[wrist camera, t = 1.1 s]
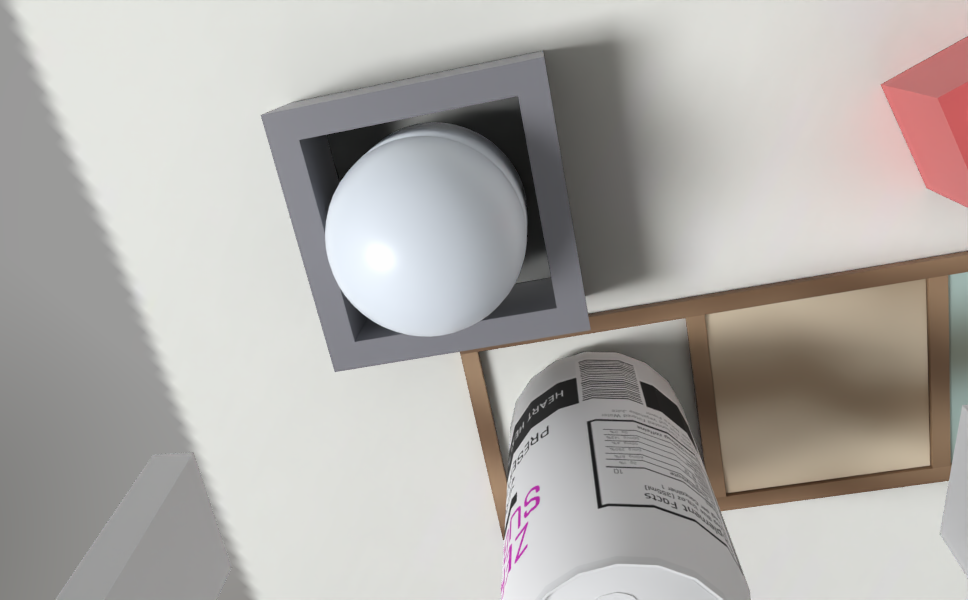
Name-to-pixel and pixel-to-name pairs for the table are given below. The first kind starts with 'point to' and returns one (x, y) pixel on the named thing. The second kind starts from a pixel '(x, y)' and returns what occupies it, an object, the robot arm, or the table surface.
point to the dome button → (428, 230)
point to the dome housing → (307, 122)
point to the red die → (936, 118)
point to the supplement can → (610, 491)
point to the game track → (808, 381)
